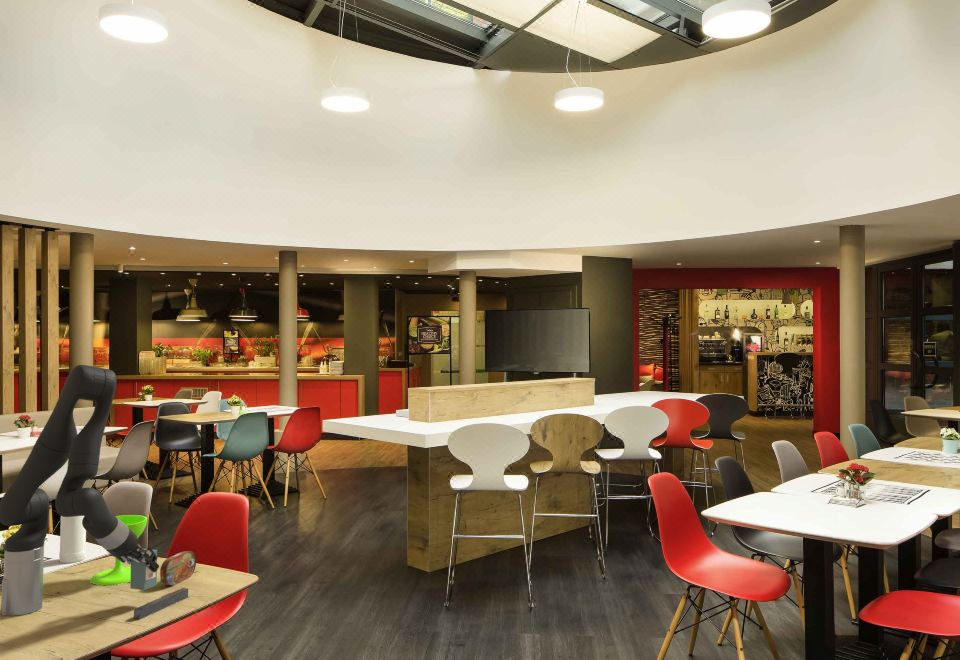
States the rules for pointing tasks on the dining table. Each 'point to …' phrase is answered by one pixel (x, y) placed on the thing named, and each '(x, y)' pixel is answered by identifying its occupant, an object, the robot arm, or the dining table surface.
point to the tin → (178, 568)
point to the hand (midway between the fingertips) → (148, 568)
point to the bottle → (72, 540)
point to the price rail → (160, 603)
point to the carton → (142, 575)
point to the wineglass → (119, 572)
